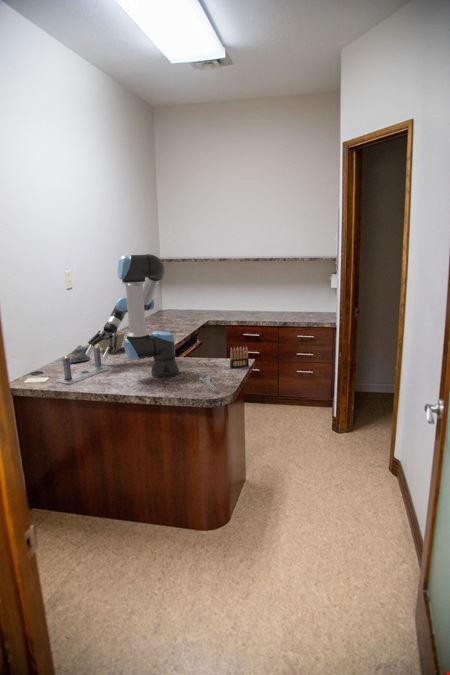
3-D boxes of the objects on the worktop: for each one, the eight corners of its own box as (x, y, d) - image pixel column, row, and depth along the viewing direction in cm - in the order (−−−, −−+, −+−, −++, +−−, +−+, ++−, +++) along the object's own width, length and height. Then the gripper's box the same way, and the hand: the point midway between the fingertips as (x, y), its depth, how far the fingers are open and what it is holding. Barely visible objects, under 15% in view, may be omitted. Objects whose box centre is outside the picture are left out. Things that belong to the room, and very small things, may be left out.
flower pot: (127, 352, 292) (125, 334, 290) (98, 356, 286) (97, 337, 284) (123, 346, 309) (122, 329, 306) (96, 349, 303) (94, 332, 300)
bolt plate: (110, 368, 258) (108, 346, 255) (69, 384, 233) (66, 359, 230) (97, 366, 263) (95, 344, 260) (56, 381, 237) (53, 357, 234)
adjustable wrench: (219, 394, 213) (219, 391, 213) (206, 396, 212) (206, 392, 211) (210, 378, 237) (209, 375, 236) (198, 379, 235) (197, 376, 235)
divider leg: (102, 366, 257) (100, 346, 254) (98, 367, 255) (96, 347, 252) (98, 365, 259) (96, 345, 256) (94, 367, 256) (92, 346, 253)
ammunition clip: (248, 365, 256) (247, 345, 253) (249, 366, 254) (248, 346, 251) (229, 367, 253) (229, 347, 251) (230, 368, 252) (230, 348, 249)
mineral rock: (68, 364, 269) (66, 348, 266) (68, 360, 279) (66, 344, 276) (90, 362, 273) (89, 346, 271) (89, 358, 283) (88, 342, 280)
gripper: (131, 331, 260) (115, 362, 251) (100, 327, 273) (84, 357, 263) (124, 323, 255) (108, 355, 246) (93, 320, 267) (76, 350, 258)
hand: (95, 356), depth 255 cm, fingers open, 13 cm apart
